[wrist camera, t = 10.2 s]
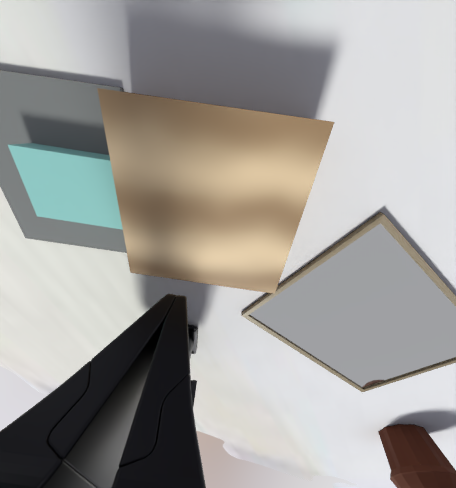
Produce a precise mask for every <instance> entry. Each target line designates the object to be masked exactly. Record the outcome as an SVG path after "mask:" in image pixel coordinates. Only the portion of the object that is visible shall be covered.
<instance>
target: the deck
mask: <svg viewBox="0 0 456 488" xmlns="http://www.w3.org/2000/svg"><path fill="white" fill-rule="evenodd" d="M97 90H98V95H99V101H100V106H101V112H102V118H103V123H104V129H105V134H106V140H107V145H108V151H109V156H110V162H111V167H112V173H113V178H114V184H115V189H116V195H117V200H118V206H119V211H120V217H121V223H122V228H123V234H124V239H125V245H126V250H127V256H128V261H129V267H130V272H131V273H137V274H144V275H150V276H157V277H164V278H171V279H178V280H185V281H192V282H198V283H205V284H212V285H219V286H226V287H233V288H240V289H246V290H253V291H260V292H267V293H274V294H275V292H276V289H277V286H278V283H279V280H280V277H281V274H282V271H283V268H284V266H285V263H286V260H287V257H288V254H289V251H290V248H291V245H292V243H293V240H294V237H295V234H296V231H297V228H298V225H299V222H300V219H301V217H302V214H303V211H304V208H305V205H306V202H307V199H308V196H309V194H310V191H311V188H312V185H313V182H314V179H315V176H316V173H317V170H318V168H319V165H320V162H321V159H322V156H323V153H324V150H325V147H326V145H327V142H328V139H329V136H330V133H331V130H332V127H333V124H334V122H330V121H323V120H316V119H309V118H302V117H295V116H288V115H281V114H274V113H267V112H260V111H253V110H246V109H239V108H232V107H225V106H218V105H211V104H205V103H198V102H191V101H184V100H177V99H170V98H163V97H156V96H149V95H142V94H135V93H128V92H121V91H114V90H107V89H100V88H97Z"/></svg>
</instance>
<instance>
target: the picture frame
mask: <svg viewBox="0 0 456 488" xmlns="http://www.w3.org/2000/svg"><path fill="white" fill-rule="evenodd" d="M242 316H243V317H244V318H246V319H248V320H249V321H251V322H252V323H254V324H256V325H257V326H259V327H260V328H262V329H263V330H265V331H267V332H268V333H270V334H271V335H273V336H274V337H276V338H278V339H279V340H281V341H282V342H284V343H285V344H287V345H289V346H290V347H292V348H293V349H295V350H297V351H298V352H300V353H301V354H303V355H304V356H306V357H308V358H309V359H311V360H312V361H314V362H315V363H317V364H319V365H320V366H322V367H323V368H325V369H326V370H328V371H330V372H331V373H333V374H334V375H336V376H338V377H339V378H341V379H342V380H344V381H345V382H347V383H349V384H350V385H352V386H353V387H355V388H356V389H358V390H360V391H361V392H365V391H368V390H371V389H374V388H377V387H380V386H383V385H386V384H390V383H393V382H396V381H399V380H402V379H405V378H408V377H412V376H415V375H418V374H421V373H424V372H427V371H430V370H434V369H437V368H440V367H443V366H446V365H449V364H452V363H456V296H455V295H454V294H453V292H452V291H451V290H450V289H449V288H448V287H447V286H446V284H445V283H444V282H443V281H442V280H441V279H440V278H439V276H438V275H437V274H436V273H435V272H434V271H433V270H432V268H431V267H430V266H429V265H428V264H427V263H426V262H425V260H424V259H423V258H422V257H421V256H420V255H419V254H418V252H417V251H416V250H415V249H414V248H413V247H412V246H411V244H410V243H409V242H408V241H407V240H406V239H405V238H404V236H403V235H402V234H401V233H400V232H399V231H398V230H397V228H396V227H395V226H394V225H393V224H392V223H391V222H390V220H389V219H388V218H387V217H386V216H385V215H384V214H383V213H381V212H380V213H378V214H377V215H375V216H374V217H373V218H371V219H370V220H369V221H367V222H366V223H364V224H363V225H362V226H360V227H359V228H358V229H356V230H355V231H353V232H352V233H351V234H349V235H348V236H346V237H345V238H344V239H342V240H341V241H340V242H338V243H337V244H335V245H334V246H333V247H331V248H330V249H328V250H327V251H326V252H324V253H323V254H322V255H320V256H319V257H317V258H316V259H315V260H313V261H312V262H310V263H309V264H308V265H306V266H305V267H304V268H302V269H301V270H299V271H298V272H297V273H295V274H294V275H292V276H291V277H290V278H288V279H287V280H286V281H284V282H283V283H281V284H280V285H279V286H277V289H276V292H275V294H274V293H268V294H266V295H265V296H263V297H262V298H261V299H259V300H258V301H257V302H255V303H254V304H252V305H251V306H250V307H248V308H247V309H245V310H244V311H243V312H242Z"/></svg>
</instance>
